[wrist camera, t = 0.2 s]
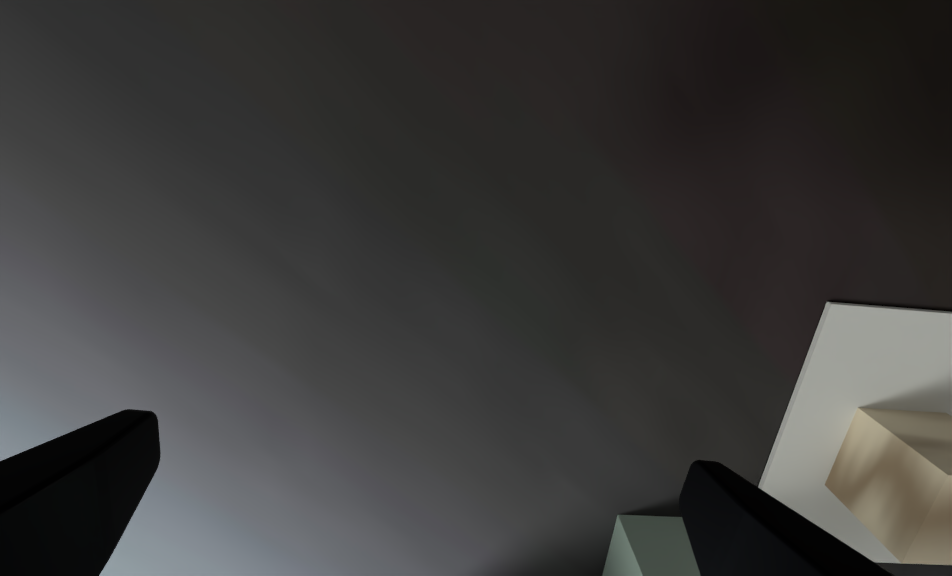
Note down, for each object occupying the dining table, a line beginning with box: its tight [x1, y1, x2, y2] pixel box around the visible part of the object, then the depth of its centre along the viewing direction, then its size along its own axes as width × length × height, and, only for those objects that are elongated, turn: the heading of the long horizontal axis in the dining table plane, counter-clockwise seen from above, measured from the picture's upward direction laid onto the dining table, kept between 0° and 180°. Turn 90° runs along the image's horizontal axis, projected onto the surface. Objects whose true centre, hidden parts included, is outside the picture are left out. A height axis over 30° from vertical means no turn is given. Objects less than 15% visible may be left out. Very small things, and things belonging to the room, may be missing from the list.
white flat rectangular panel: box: [758, 302, 952, 563], centre depth 27 cm, size 16×12×1 cm
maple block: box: [825, 408, 952, 565], centre depth 25 cm, size 5×5×5 cm
